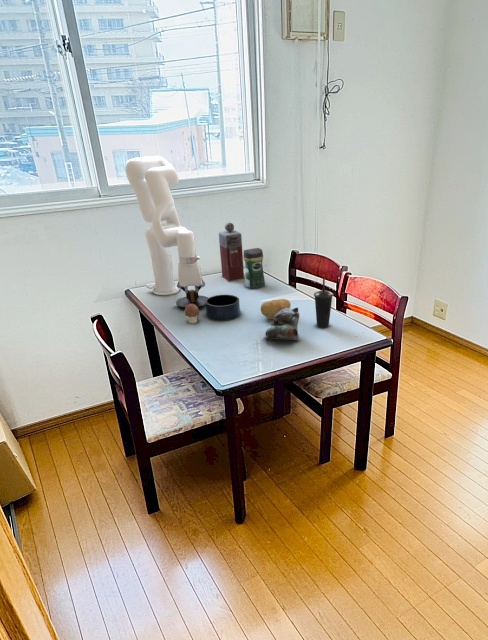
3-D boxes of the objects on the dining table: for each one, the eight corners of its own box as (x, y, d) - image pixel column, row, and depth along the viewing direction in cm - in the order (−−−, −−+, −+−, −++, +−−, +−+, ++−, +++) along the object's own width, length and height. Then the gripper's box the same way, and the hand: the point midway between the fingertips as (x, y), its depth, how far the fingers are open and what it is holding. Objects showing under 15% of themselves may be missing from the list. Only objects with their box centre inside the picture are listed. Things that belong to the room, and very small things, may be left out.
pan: (206, 322, 210) (204, 307, 207) (206, 309, 223) (205, 295, 219) (240, 319, 212) (239, 305, 208) (239, 307, 224) (238, 293, 221)
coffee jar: (260, 282, 254) (258, 245, 245) (267, 286, 248) (265, 249, 239) (243, 285, 251) (240, 248, 241) (249, 289, 244) (247, 252, 235)
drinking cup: (334, 323, 206) (335, 276, 196) (329, 330, 200) (330, 282, 190) (316, 321, 208) (317, 274, 198) (311, 328, 202) (311, 280, 192)
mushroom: (185, 324, 208) (183, 307, 204) (186, 319, 213) (184, 302, 209) (200, 323, 209) (197, 306, 205) (200, 318, 214) (198, 301, 210)
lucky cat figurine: (258, 338, 194) (263, 303, 193) (282, 343, 201) (288, 309, 200) (279, 340, 182) (285, 302, 181) (304, 345, 189) (310, 308, 188)
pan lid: (175, 310, 220) (173, 297, 217) (177, 298, 233) (175, 286, 230) (210, 308, 221) (209, 295, 218) (210, 296, 235) (209, 284, 232)
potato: (296, 317, 212) (296, 299, 208) (268, 325, 206) (267, 307, 202) (283, 311, 219) (283, 293, 215) (256, 318, 213) (255, 300, 209)
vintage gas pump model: (230, 282, 255) (226, 226, 241) (222, 276, 264) (217, 222, 249) (246, 279, 259) (242, 224, 244) (237, 274, 267) (233, 220, 253)
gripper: (206, 256, 221) (210, 296, 231) (169, 258, 220) (175, 298, 229) (206, 261, 215) (210, 301, 224) (168, 263, 213) (174, 304, 223)
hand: (192, 299), depth 226 cm, fingers closed on pan lid, 2 cm apart
